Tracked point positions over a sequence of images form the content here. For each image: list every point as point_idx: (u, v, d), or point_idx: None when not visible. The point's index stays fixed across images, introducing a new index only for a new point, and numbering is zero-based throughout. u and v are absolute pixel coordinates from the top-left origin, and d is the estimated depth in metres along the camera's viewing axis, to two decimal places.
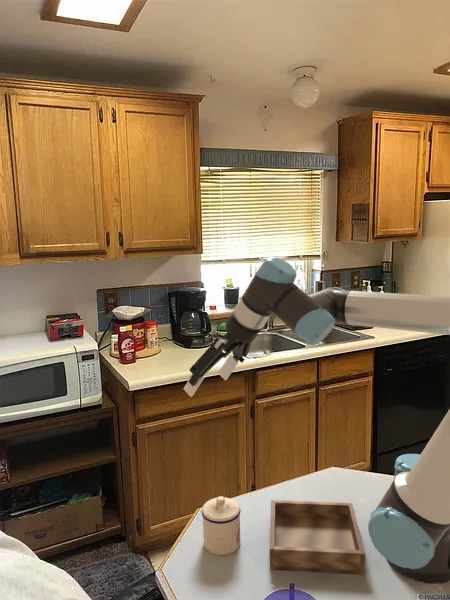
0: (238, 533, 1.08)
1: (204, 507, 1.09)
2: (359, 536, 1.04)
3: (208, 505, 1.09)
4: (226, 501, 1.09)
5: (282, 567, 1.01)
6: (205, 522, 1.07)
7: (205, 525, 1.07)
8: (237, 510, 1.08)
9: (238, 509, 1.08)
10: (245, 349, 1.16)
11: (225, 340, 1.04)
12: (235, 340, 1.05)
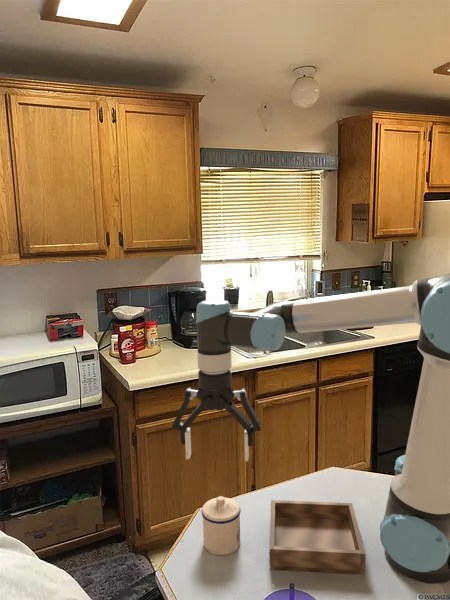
0: (238, 533, 1.08)
1: (204, 507, 1.09)
2: (359, 536, 1.04)
3: (208, 505, 1.09)
4: (226, 501, 1.09)
5: (282, 567, 1.01)
6: (205, 522, 1.07)
7: (205, 525, 1.07)
8: (237, 510, 1.08)
9: (238, 509, 1.08)
10: None
11: (197, 391, 1.06)
12: (205, 391, 1.05)
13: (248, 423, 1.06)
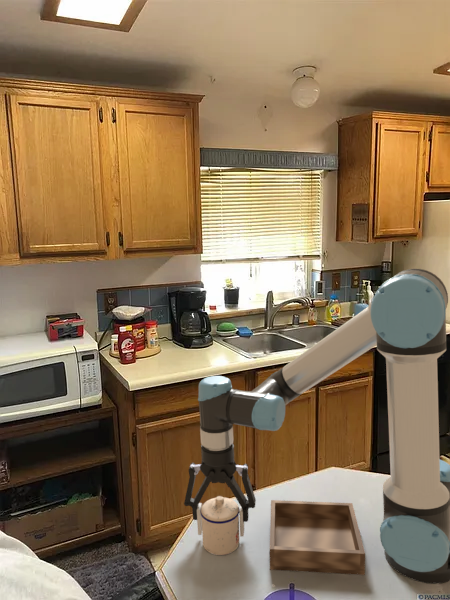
0: (237, 533, 1.08)
1: (203, 507, 1.09)
2: (359, 536, 1.04)
3: (207, 505, 1.09)
4: (225, 501, 1.09)
5: (282, 567, 1.01)
6: (204, 522, 1.07)
7: (204, 525, 1.07)
8: (236, 510, 1.08)
9: (237, 509, 1.08)
10: None
11: (200, 465, 1.09)
12: (207, 464, 1.08)
13: (244, 499, 1.09)
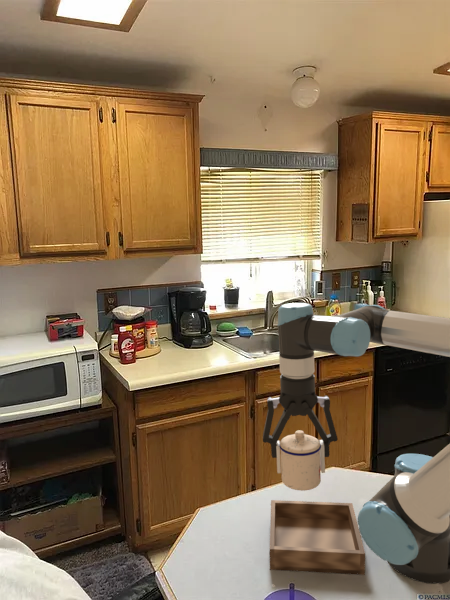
0: (319, 468, 1.03)
1: (282, 442, 1.04)
2: (359, 536, 1.04)
3: (286, 440, 1.04)
4: (305, 435, 1.04)
5: (282, 567, 1.01)
6: (285, 456, 1.02)
7: (285, 460, 1.02)
8: (318, 443, 1.03)
9: (319, 442, 1.03)
10: (328, 426, 1.03)
11: (278, 398, 1.04)
12: (287, 396, 1.03)
13: (325, 433, 1.04)
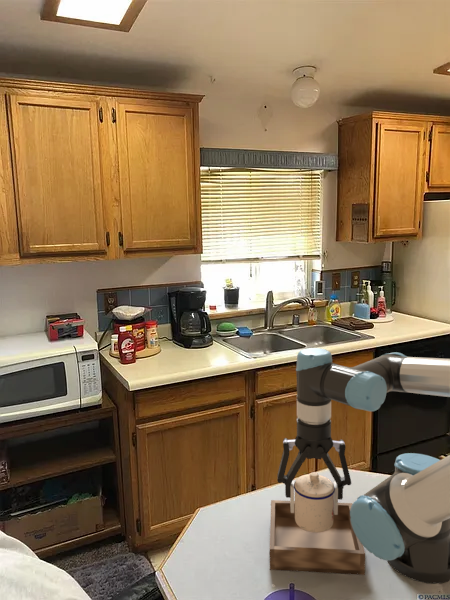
0: (332, 510, 1.05)
1: (297, 483, 1.06)
2: None
3: (301, 481, 1.06)
4: (319, 477, 1.06)
5: (282, 567, 1.01)
6: (299, 498, 1.04)
7: (299, 501, 1.04)
8: (332, 486, 1.04)
9: (333, 485, 1.05)
10: None
11: (294, 440, 1.06)
12: (303, 439, 1.04)
13: (339, 476, 1.06)
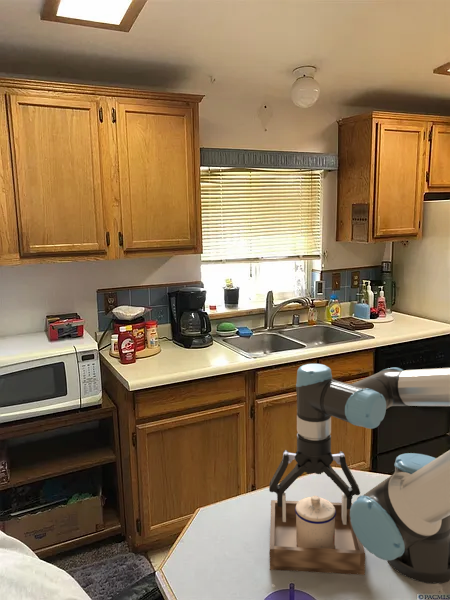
0: (334, 533, 1.06)
1: (298, 507, 1.06)
2: None
3: (302, 505, 1.07)
4: (321, 501, 1.06)
5: (282, 567, 1.01)
6: (300, 522, 1.05)
7: (301, 525, 1.05)
8: (333, 510, 1.05)
9: (334, 509, 1.06)
10: (348, 481, 1.05)
11: (295, 454, 1.06)
12: (305, 455, 1.05)
13: (346, 486, 1.06)
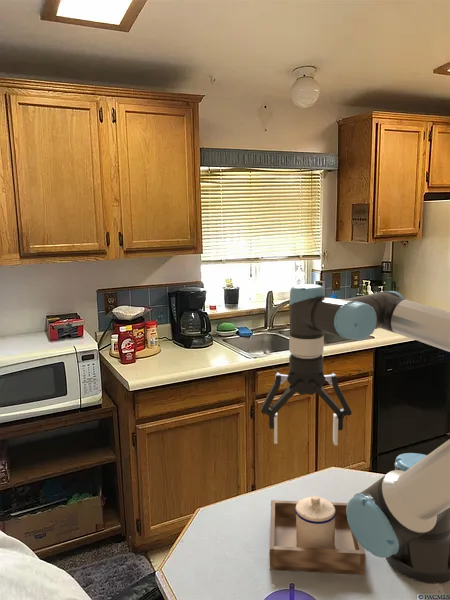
0: (334, 533, 1.06)
1: (298, 507, 1.06)
2: None
3: (302, 505, 1.07)
4: (321, 501, 1.06)
5: (282, 567, 1.01)
6: (300, 522, 1.05)
7: (301, 525, 1.05)
8: (333, 510, 1.05)
9: (334, 509, 1.06)
10: None
11: (287, 375, 1.06)
12: (297, 375, 1.05)
13: (338, 407, 1.06)
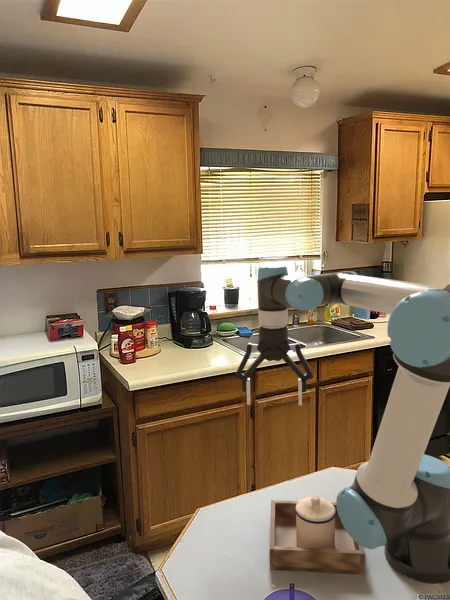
0: (334, 533, 1.06)
1: (298, 507, 1.06)
2: None
3: (302, 505, 1.07)
4: (321, 501, 1.06)
5: (282, 567, 1.01)
6: (300, 522, 1.05)
7: (301, 525, 1.05)
8: (333, 510, 1.05)
9: (334, 509, 1.06)
10: None
11: (257, 344, 1.23)
12: (265, 344, 1.21)
13: (302, 372, 1.22)
